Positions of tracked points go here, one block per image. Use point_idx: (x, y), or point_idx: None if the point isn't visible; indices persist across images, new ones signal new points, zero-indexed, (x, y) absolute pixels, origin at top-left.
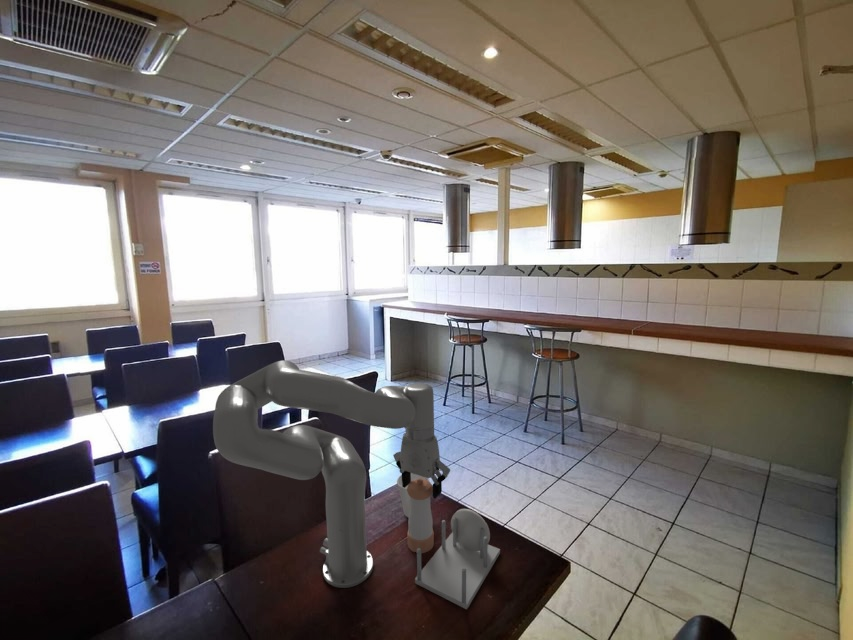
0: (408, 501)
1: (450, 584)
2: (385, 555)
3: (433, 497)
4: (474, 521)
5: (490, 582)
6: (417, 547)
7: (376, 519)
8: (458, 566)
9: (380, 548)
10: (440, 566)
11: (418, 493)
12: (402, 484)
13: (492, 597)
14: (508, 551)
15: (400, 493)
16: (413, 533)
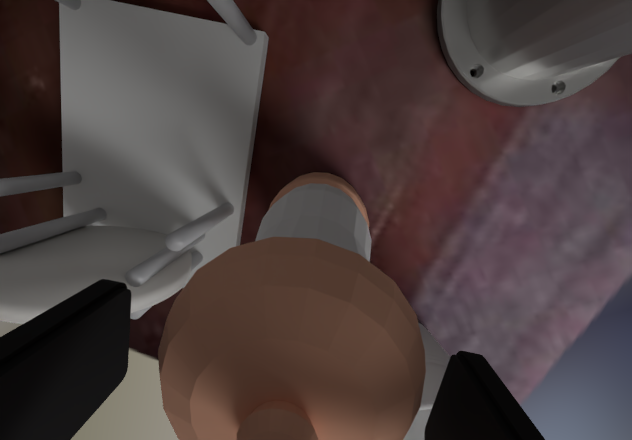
0: None
1: (142, 56)
2: (417, 122)
3: (116, 282)
4: (15, 272)
5: (56, 135)
6: (310, 174)
7: (517, 278)
8: (150, 145)
9: (448, 148)
10: (205, 124)
11: (248, 264)
12: (494, 372)
13: (28, 79)
14: None
15: None
16: (327, 187)
